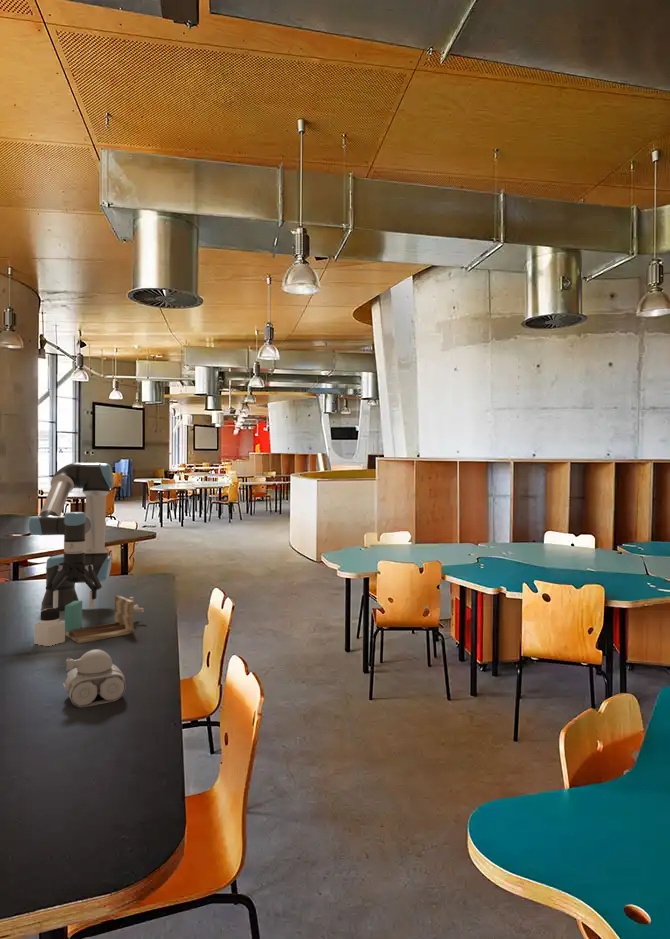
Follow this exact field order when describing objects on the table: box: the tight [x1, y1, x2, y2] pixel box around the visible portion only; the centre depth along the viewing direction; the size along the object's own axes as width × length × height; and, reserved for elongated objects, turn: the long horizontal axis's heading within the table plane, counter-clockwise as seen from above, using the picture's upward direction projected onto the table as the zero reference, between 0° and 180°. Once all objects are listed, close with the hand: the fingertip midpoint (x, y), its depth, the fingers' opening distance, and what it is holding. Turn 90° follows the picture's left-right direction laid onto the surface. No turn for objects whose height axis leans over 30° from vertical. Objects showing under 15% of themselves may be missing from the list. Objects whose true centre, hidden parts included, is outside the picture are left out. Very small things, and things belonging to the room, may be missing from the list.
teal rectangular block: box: [64, 600, 83, 632], centre depth 223 cm, size 3×9×10 cm, turn 3°
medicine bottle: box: [33, 608, 66, 647], centre depth 205 cm, size 7×7×12 cm
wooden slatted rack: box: [65, 594, 135, 644], centre depth 217 cm, size 14×20×12 cm
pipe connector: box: [128, 596, 145, 613], centre depth 234 cm, size 10×10×10 cm
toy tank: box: [62, 649, 126, 708], centre depth 156 cm, size 15×11×13 cm
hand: (73, 607), depth 223 cm, fingers open, 13 cm apart
